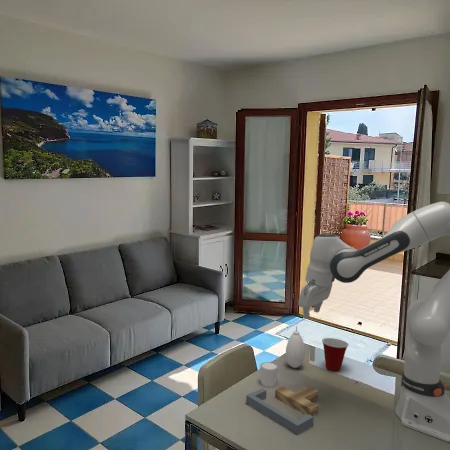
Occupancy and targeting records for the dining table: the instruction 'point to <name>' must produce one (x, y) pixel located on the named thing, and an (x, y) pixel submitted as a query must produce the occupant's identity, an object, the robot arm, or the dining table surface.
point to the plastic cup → (334, 353)
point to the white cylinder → (268, 374)
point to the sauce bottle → (295, 350)
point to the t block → (299, 399)
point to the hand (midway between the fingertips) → (311, 314)
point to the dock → (278, 413)
